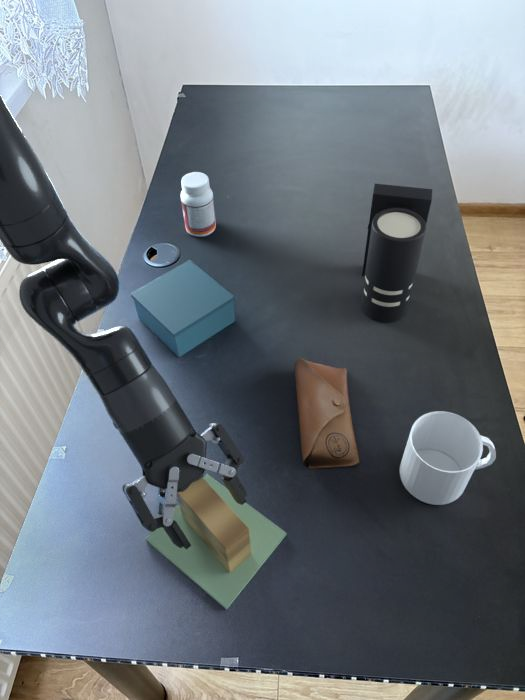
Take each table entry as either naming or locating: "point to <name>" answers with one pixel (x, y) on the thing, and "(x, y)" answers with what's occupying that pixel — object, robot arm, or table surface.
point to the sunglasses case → (324, 416)
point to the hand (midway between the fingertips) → (215, 523)
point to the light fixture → (393, 249)
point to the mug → (442, 457)
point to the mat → (205, 564)
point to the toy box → (184, 307)
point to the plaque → (215, 523)
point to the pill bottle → (197, 204)
